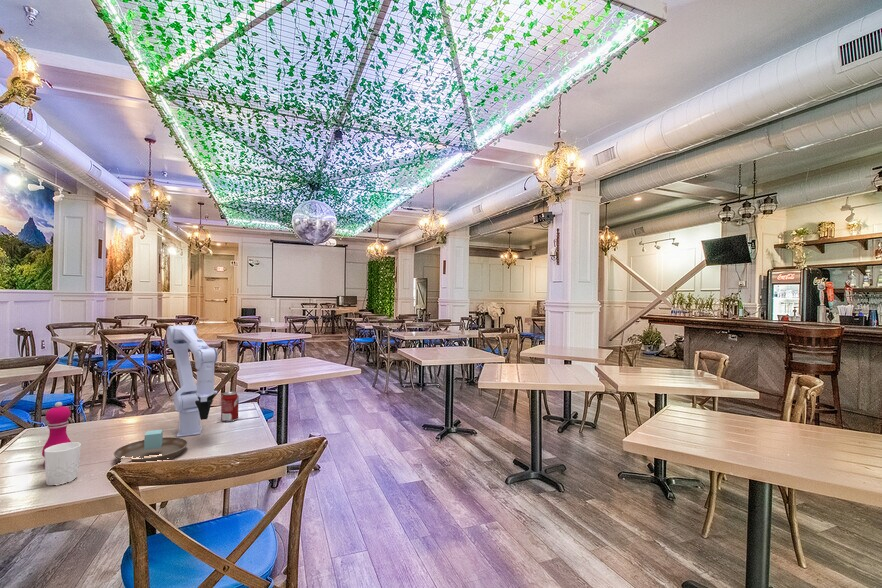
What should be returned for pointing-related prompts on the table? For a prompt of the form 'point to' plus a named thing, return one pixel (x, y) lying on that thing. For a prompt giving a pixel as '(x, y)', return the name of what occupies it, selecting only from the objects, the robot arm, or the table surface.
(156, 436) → the block
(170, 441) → the plant saucer
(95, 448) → the table surface
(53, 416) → the pepper mill
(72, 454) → the white cup
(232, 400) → the soda can
